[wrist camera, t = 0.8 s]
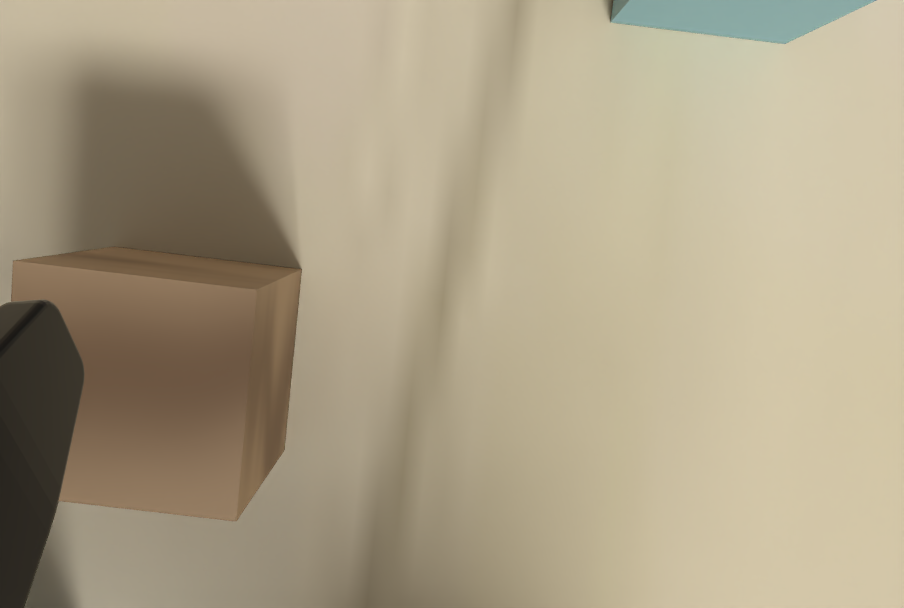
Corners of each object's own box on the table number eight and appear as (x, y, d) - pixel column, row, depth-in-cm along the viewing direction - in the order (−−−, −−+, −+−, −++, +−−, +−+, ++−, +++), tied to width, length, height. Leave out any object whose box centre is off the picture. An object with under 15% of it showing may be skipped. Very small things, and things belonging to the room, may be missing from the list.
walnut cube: (284, 449, 22) (236, 521, 17) (103, 428, 22) (1, 494, 17) (302, 268, 22) (256, 289, 17) (115, 246, 21) (13, 260, 16)
